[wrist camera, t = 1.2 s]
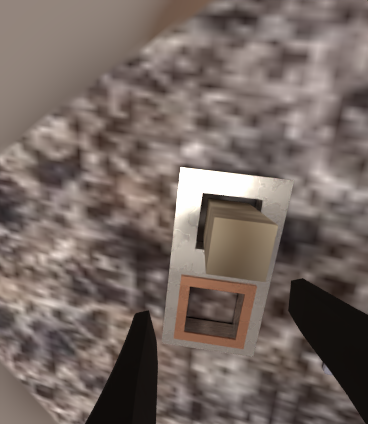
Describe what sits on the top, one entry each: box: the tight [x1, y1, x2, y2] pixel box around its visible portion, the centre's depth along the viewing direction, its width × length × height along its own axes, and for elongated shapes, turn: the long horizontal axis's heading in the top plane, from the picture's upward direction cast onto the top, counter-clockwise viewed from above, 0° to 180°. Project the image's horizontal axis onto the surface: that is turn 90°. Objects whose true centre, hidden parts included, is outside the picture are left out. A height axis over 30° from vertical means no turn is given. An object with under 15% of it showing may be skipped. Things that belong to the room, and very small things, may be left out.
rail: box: [162, 167, 294, 357], centre depth 21 cm, size 10×19×2 cm, turn 173°
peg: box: [203, 198, 278, 282], centre depth 17 cm, size 4×4×8 cm
